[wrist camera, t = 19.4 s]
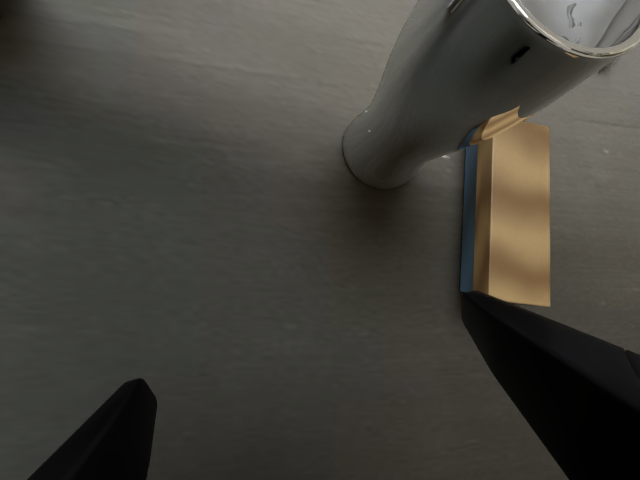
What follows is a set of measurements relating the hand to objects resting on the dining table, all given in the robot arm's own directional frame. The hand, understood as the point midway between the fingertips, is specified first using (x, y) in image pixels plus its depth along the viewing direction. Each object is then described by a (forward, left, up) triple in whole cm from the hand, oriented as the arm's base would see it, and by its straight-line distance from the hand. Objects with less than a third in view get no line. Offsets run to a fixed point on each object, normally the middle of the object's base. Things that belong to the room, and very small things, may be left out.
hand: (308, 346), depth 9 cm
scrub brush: (+6, -17, -13) cm, 22 cm away
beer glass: (+11, -9, -13) cm, 19 cm away
